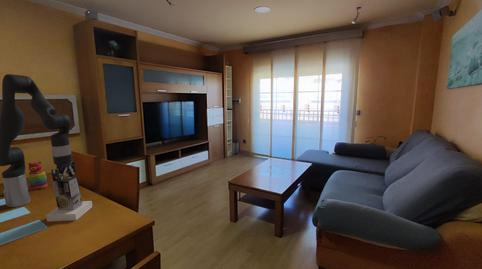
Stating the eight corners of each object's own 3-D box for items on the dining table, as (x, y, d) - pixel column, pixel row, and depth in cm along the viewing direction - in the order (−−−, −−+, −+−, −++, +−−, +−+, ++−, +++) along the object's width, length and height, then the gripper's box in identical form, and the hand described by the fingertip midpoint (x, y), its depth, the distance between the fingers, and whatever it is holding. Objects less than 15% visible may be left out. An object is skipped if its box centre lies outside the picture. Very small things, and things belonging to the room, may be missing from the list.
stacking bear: (25, 191, 148) (20, 165, 145) (32, 186, 157) (27, 161, 154) (45, 188, 152) (41, 163, 149) (51, 183, 161) (47, 159, 158)
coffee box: (83, 204, 122) (78, 176, 119) (73, 210, 116) (68, 181, 113) (67, 203, 123) (62, 176, 120) (57, 210, 117) (51, 180, 114)
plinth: (47, 222, 113) (45, 214, 112) (66, 208, 126) (65, 201, 126) (76, 221, 114) (75, 213, 113) (92, 207, 127) (91, 200, 127)
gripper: (64, 150, 121) (68, 179, 124) (43, 158, 107) (48, 190, 110) (78, 150, 121) (82, 179, 124) (59, 157, 107) (64, 190, 110)
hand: (66, 184), depth 117 cm, fingers open, 7 cm apart
